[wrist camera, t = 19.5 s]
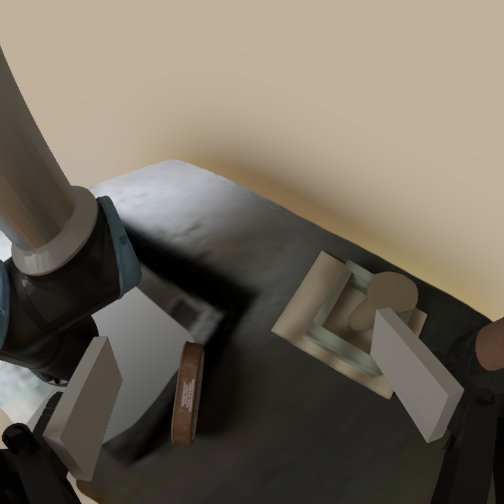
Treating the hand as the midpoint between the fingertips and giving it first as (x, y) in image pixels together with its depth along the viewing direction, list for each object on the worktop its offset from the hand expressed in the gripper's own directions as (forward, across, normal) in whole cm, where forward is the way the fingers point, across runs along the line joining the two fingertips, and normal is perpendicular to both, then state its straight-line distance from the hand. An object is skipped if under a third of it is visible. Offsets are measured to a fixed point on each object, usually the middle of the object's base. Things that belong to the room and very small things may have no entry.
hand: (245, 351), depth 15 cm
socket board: (+29, +18, -19) cm, 39 cm away
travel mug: (+22, +38, -26) cm, 51 cm away
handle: (+28, +18, -18) cm, 38 cm away
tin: (+23, -8, -25) cm, 35 cm away
